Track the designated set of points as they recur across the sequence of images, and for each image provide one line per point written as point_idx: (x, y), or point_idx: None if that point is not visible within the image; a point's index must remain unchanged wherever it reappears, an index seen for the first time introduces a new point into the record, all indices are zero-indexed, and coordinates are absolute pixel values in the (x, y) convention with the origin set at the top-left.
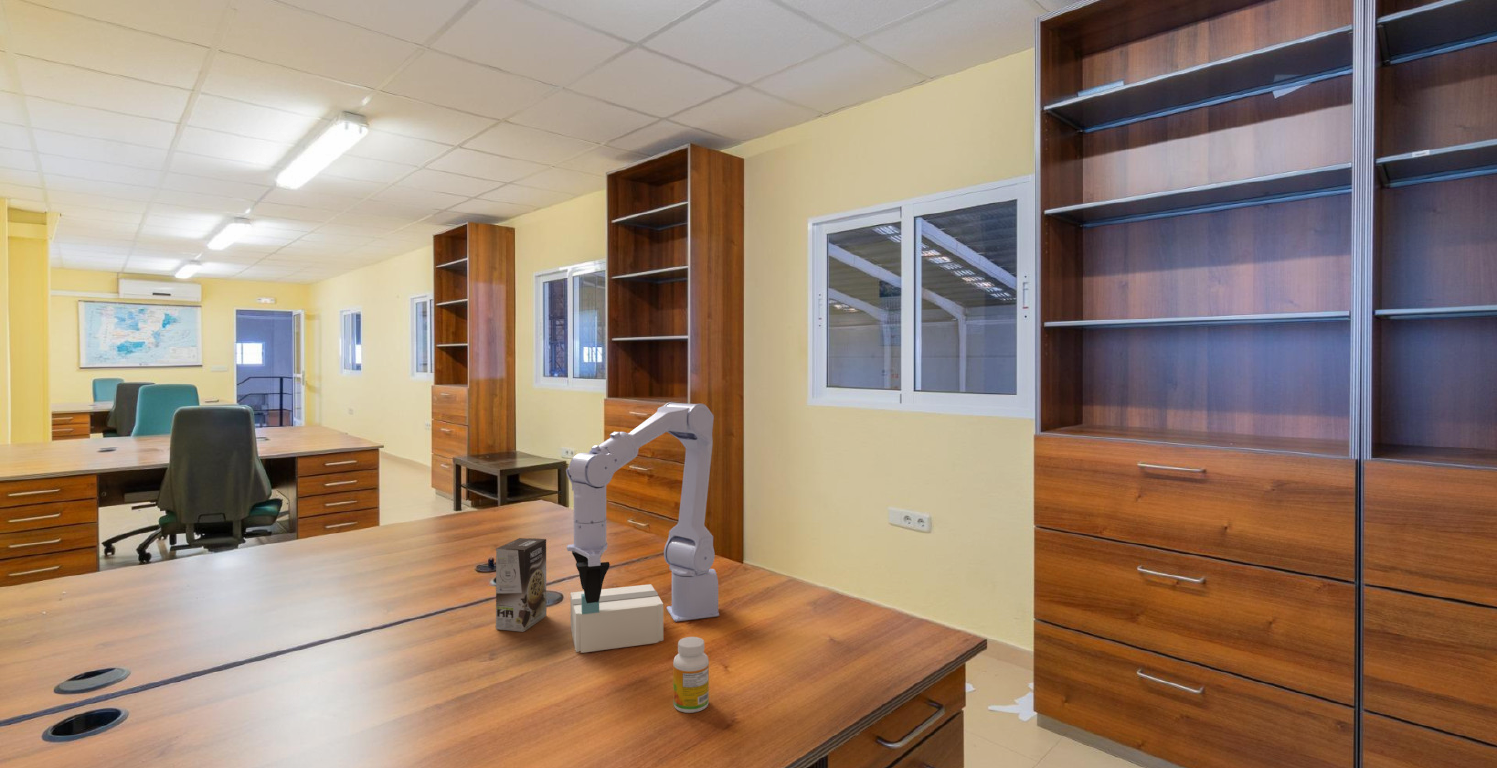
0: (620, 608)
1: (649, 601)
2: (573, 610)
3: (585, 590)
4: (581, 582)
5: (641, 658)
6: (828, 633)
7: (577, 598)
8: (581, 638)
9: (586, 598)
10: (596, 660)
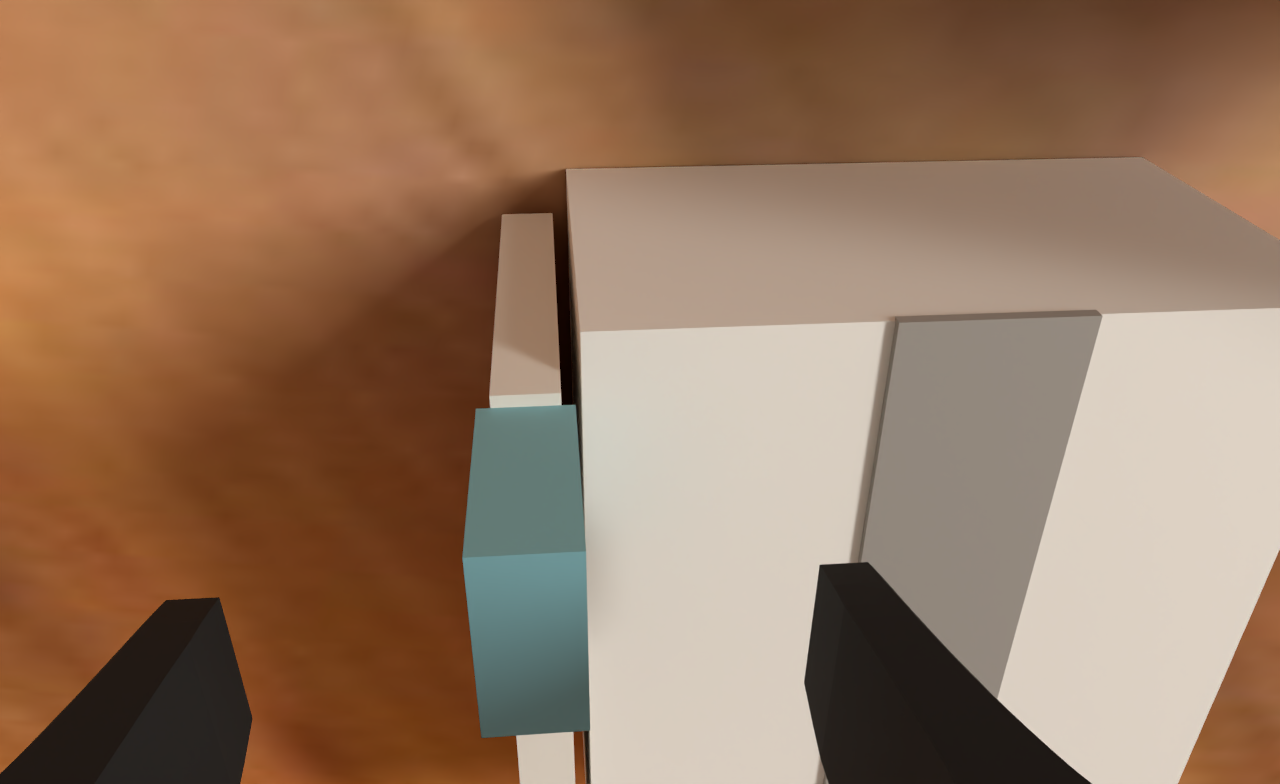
0: (548, 739)
1: None
2: (901, 287)
3: (21, 764)
4: (854, 631)
5: (326, 593)
6: None
7: (1119, 372)
8: (499, 271)
9: (120, 655)
10: (356, 317)
